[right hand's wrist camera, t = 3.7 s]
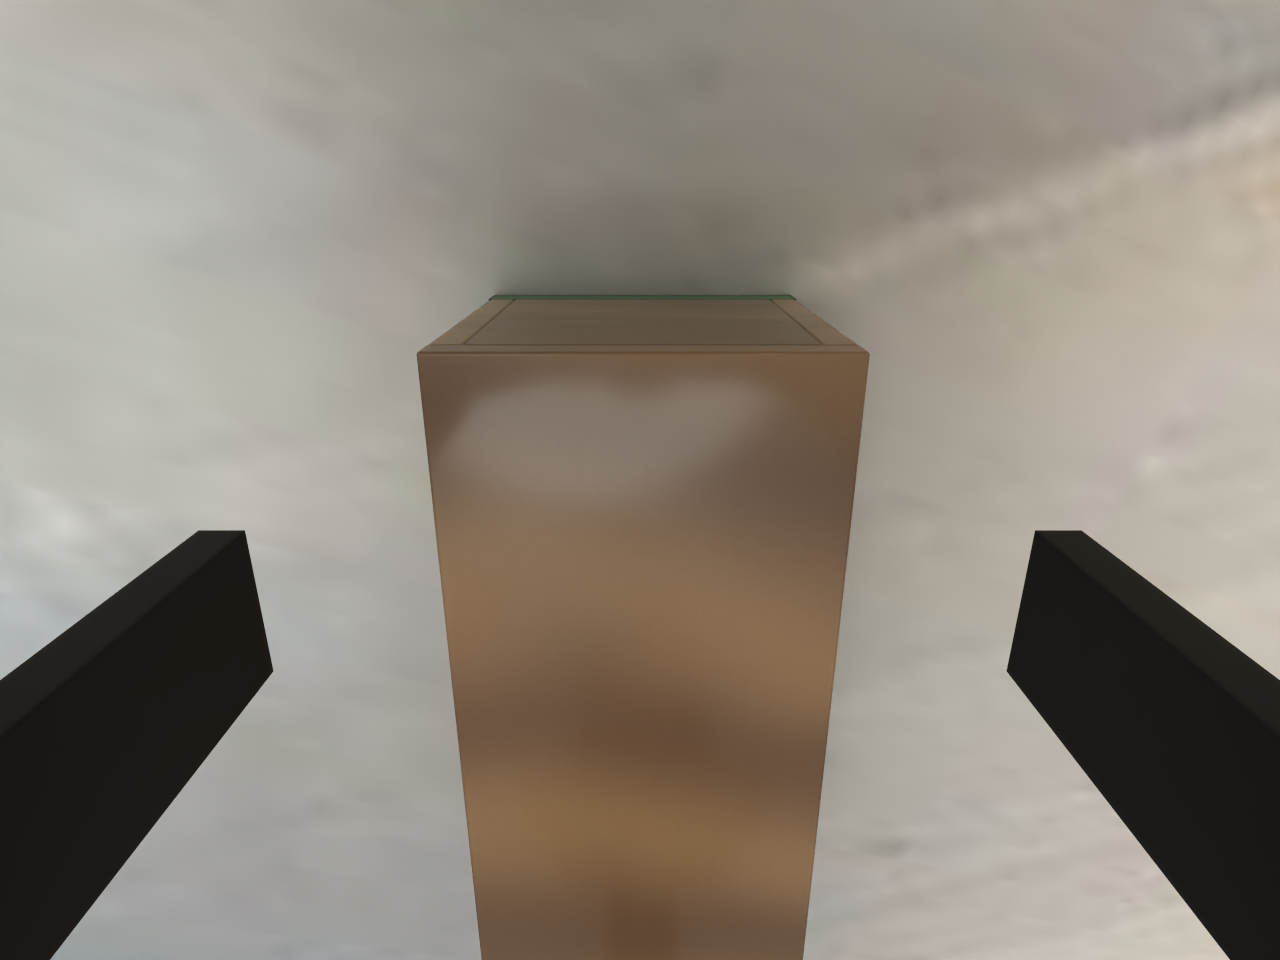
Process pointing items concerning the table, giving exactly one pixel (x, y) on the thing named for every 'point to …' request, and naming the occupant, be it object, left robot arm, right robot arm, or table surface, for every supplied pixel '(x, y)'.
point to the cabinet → (642, 612)
